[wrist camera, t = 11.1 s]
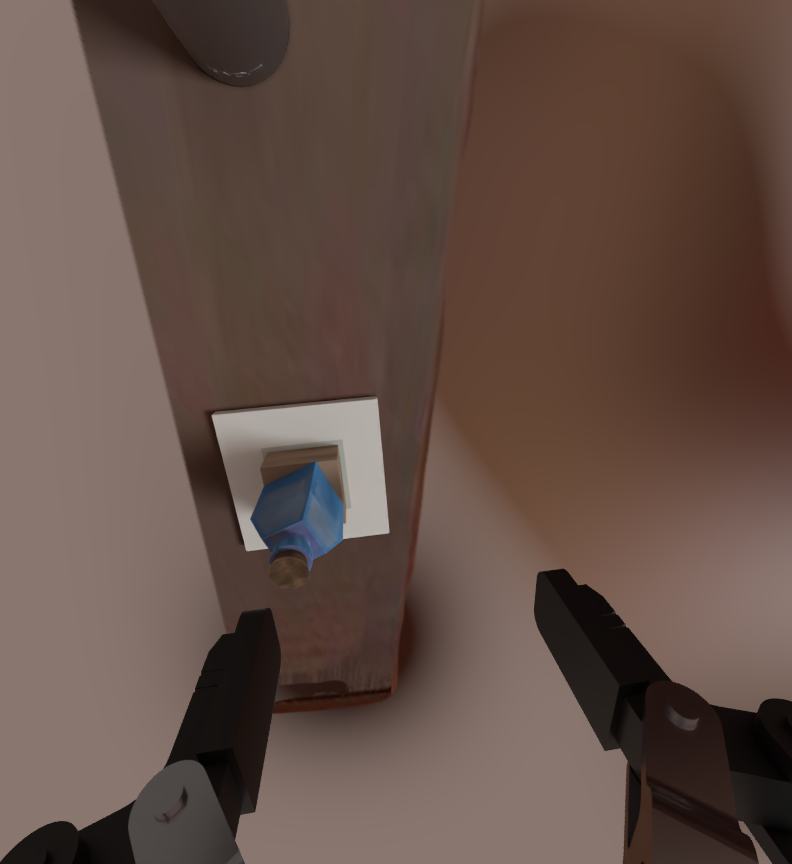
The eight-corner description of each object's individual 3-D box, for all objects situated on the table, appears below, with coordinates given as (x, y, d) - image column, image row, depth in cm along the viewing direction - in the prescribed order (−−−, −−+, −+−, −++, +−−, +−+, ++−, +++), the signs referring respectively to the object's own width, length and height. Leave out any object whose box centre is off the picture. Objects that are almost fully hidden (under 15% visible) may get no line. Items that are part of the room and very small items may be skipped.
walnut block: (267, 452, 44) (259, 468, 40) (338, 444, 44) (337, 459, 41) (280, 512, 47) (274, 532, 43) (346, 504, 47) (345, 523, 44)
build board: (215, 411, 43) (211, 415, 41) (376, 396, 44) (377, 399, 43) (248, 545, 49) (246, 551, 48) (388, 527, 51) (389, 533, 49)
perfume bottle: (294, 529, 43) (275, 614, 32) (263, 486, 41) (232, 561, 30) (343, 505, 43) (342, 583, 32) (315, 460, 40) (303, 528, 29)
